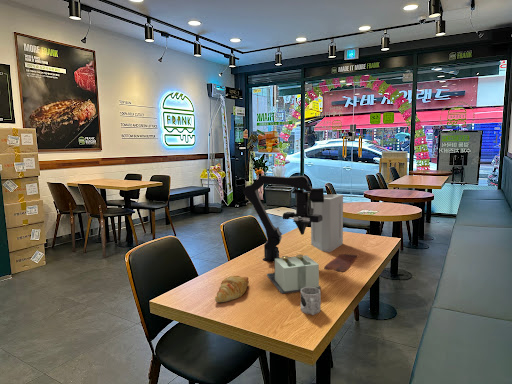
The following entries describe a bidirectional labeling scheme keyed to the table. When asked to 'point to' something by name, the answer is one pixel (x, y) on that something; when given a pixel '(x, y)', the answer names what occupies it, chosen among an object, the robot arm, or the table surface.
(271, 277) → the base plate
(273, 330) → the table surface
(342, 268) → the wooden tablet
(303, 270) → the two-slot toaster
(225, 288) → the croissant
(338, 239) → the paper bag
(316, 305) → the mug
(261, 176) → the robot arm
